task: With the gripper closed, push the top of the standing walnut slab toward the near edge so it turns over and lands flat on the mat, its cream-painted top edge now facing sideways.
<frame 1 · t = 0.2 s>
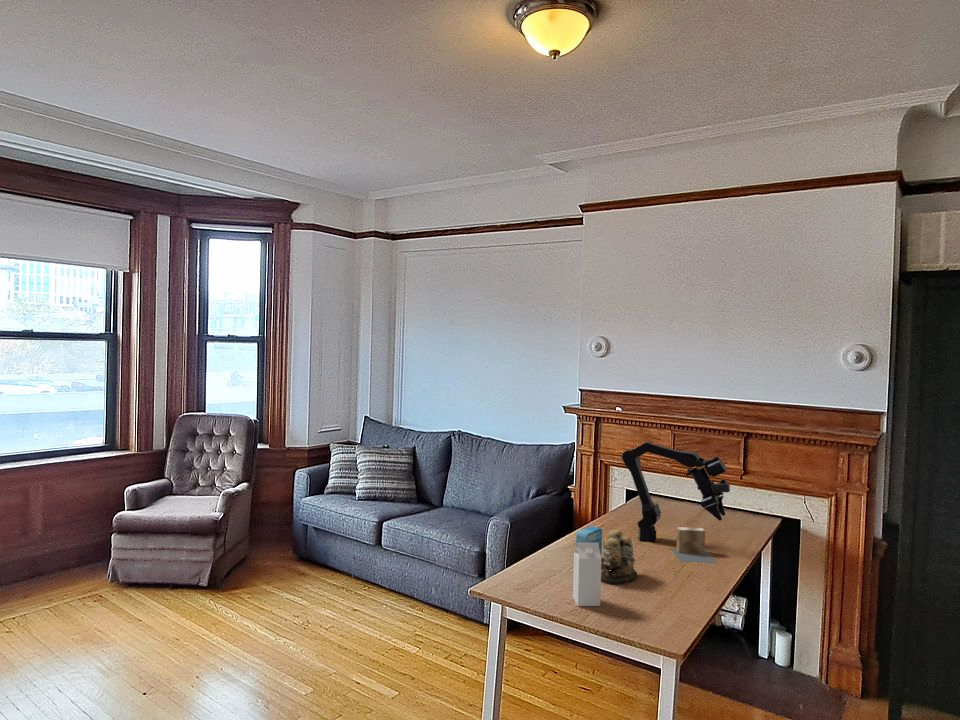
hand: (722, 517, 256), 14 cm above the table, tool tilted 30°, fingers open, 9 cm apart
slab: (690, 552, 255), point 1 cm above the table, touching mat
mat: (693, 557, 251), on the table
milk carton: (586, 602, 204), on the table
data package: (588, 561, 244), on the table
owl figurine: (617, 578, 227), on the table
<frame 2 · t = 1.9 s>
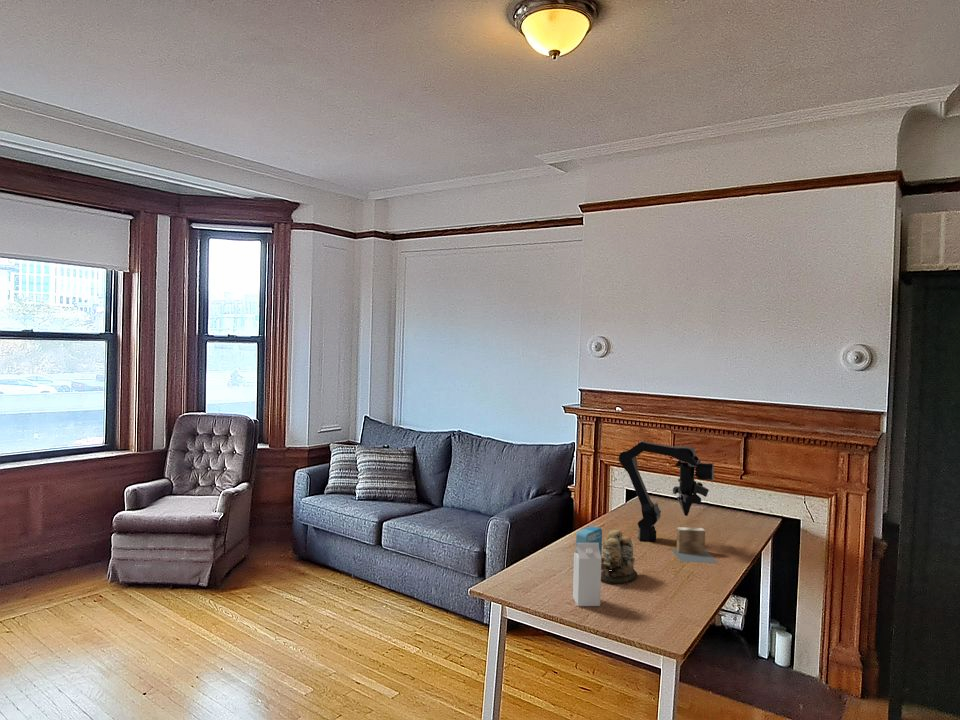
hand: (686, 515, 263), 13 cm above the table, tool pointing down, fingers closed
nothing on the table moved.
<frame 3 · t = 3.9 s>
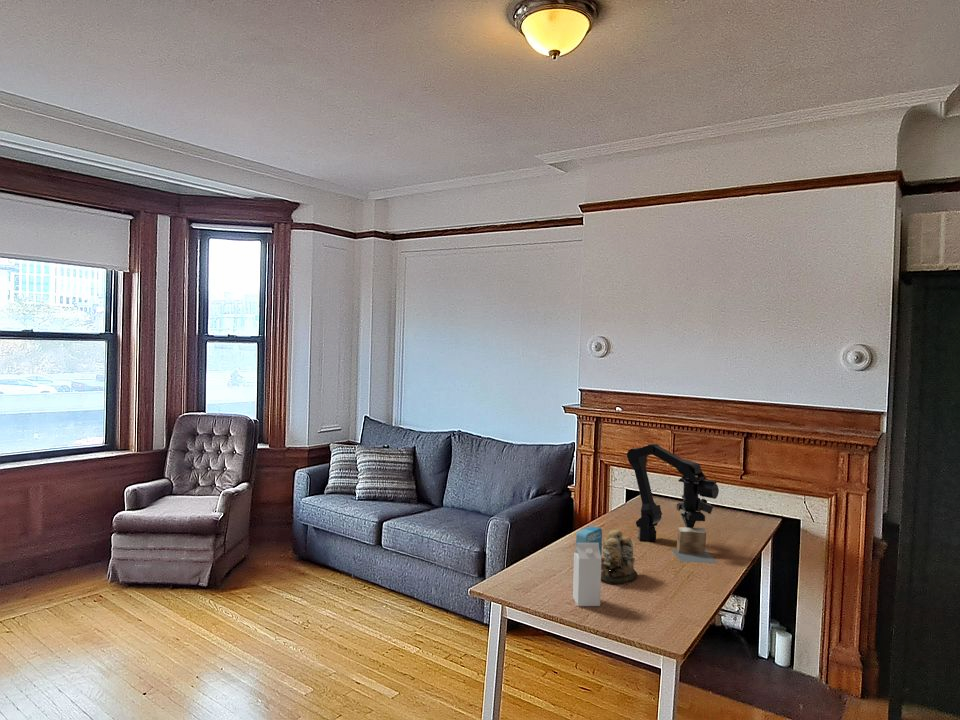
hand: (689, 533, 257), 8 cm above the table, tool pointing down, fingers closed
slab: (690, 551, 255), point 1 cm above the table, tilted 10°, touching gripper, mat
everything else where it was.
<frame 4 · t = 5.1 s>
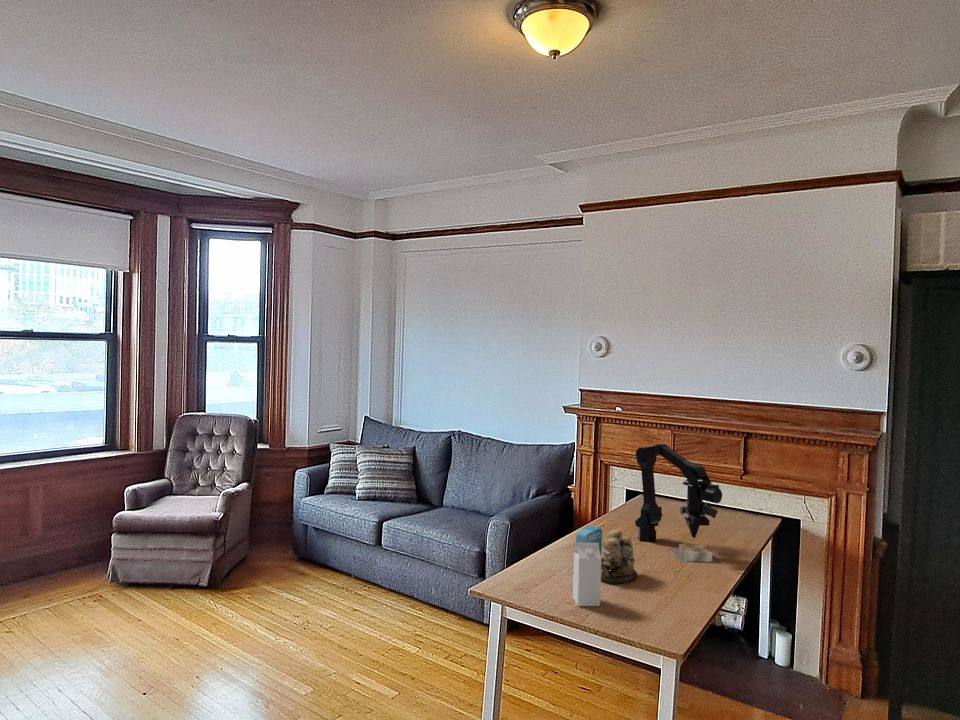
hand: (693, 537, 252), 8 cm above the table, tool pointing down, fingers closed
slab: (691, 549, 254), point 2 cm above the table, tilted 90°, touching mat
everything else where it was.
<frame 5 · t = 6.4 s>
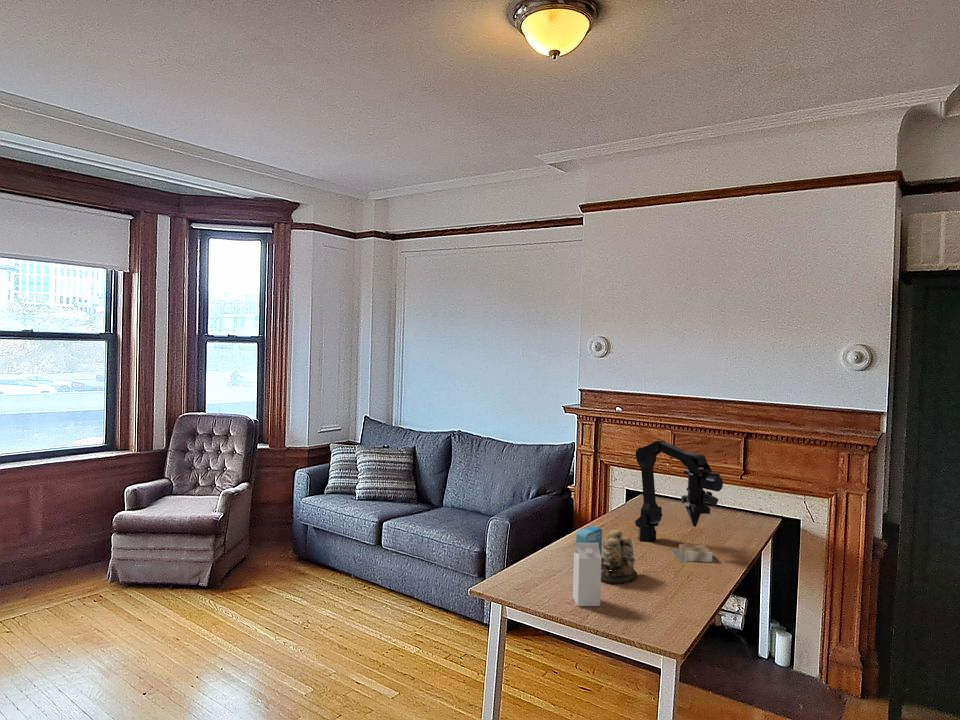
hand: (694, 526, 251), 12 cm above the table, tool pointing down, fingers closed
nothing on the table moved.
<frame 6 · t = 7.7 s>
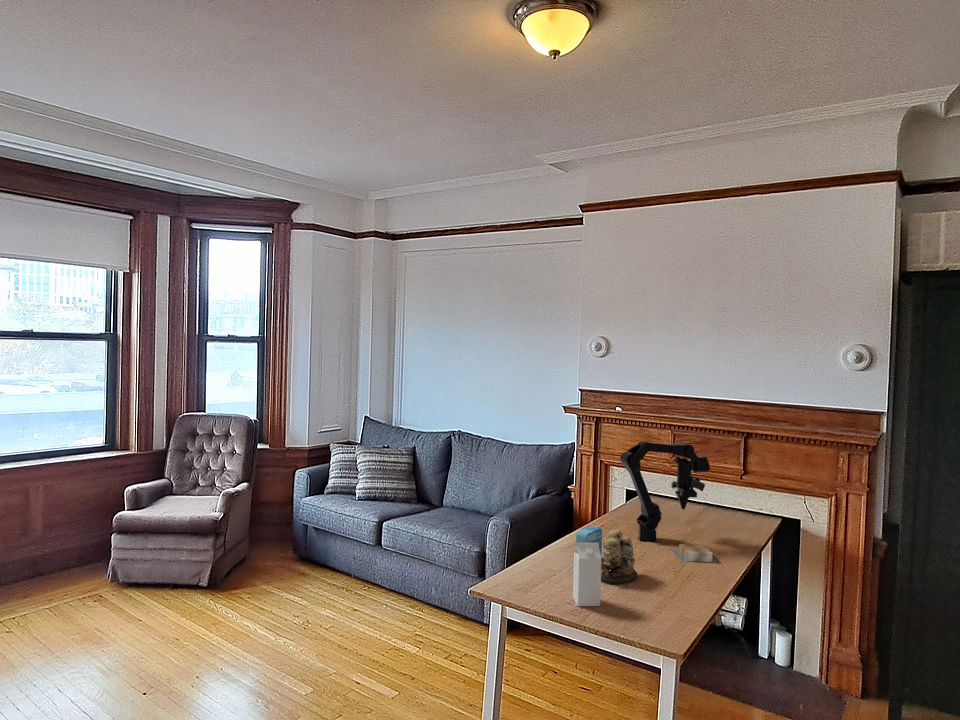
hand: (683, 509, 274), 13 cm above the table, tool pointing down, fingers closed
nothing on the table moved.
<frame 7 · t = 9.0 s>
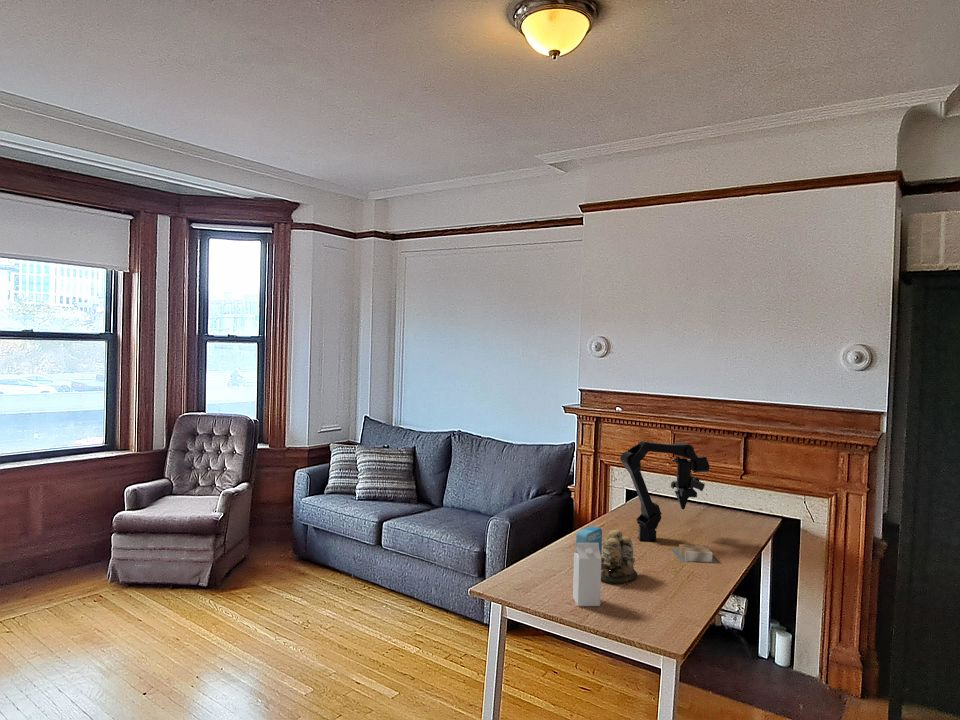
hand: (682, 509, 274), 13 cm above the table, tool pointing down, fingers closed
nothing on the table moved.
at the end: slab tilted 90°; slab 2.7 cm from the mat (horizontally); slab point 2.3 cm above the table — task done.
